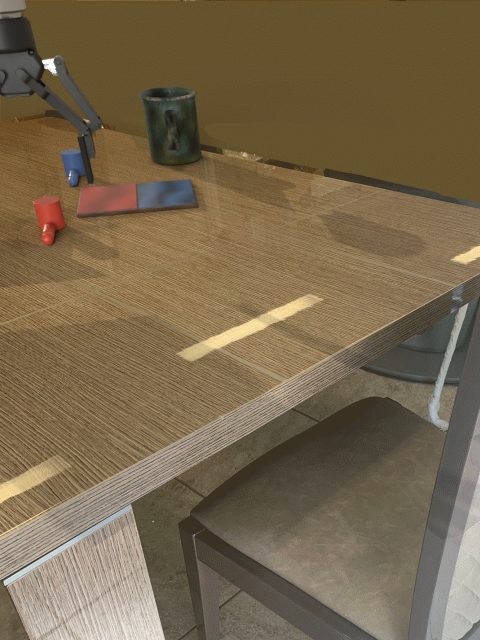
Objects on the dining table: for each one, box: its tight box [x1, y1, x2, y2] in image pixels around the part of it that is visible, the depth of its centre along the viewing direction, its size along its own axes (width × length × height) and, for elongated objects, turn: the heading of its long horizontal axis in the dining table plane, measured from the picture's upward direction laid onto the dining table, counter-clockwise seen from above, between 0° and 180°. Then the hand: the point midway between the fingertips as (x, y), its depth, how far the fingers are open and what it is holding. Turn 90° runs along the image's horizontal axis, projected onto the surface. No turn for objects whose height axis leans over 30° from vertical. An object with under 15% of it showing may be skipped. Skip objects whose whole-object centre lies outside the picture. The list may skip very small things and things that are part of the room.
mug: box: [138, 86, 202, 166], centre depth 124 cm, size 11×15×12 cm
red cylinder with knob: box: [32, 196, 67, 246], centre depth 95 cm, size 10×4×4 cm, turn 14°
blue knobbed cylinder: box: [60, 148, 86, 187], centre depth 117 cm, size 10×4×4 cm, turn 14°
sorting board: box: [76, 178, 199, 219], centre depth 109 cm, size 19×14×1 cm
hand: (43, 185), depth 95 cm, fingers open, 13 cm apart
